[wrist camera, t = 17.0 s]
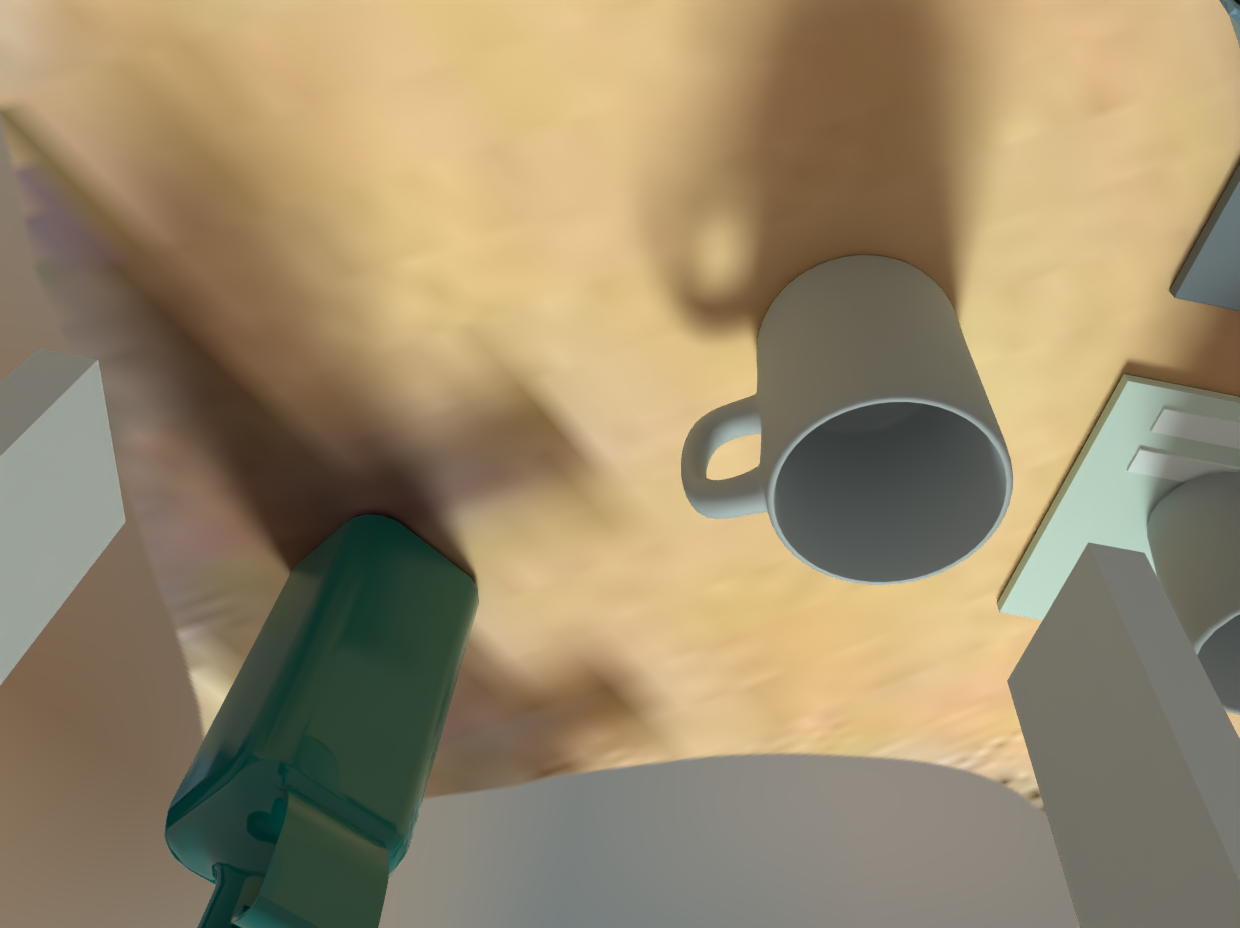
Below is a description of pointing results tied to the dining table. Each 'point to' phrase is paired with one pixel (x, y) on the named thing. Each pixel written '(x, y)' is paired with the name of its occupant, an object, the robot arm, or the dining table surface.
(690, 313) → the dining table surface
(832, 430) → the mug
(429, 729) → the green bottle
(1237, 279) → the pad slate
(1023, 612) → the pad green
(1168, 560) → the cup
